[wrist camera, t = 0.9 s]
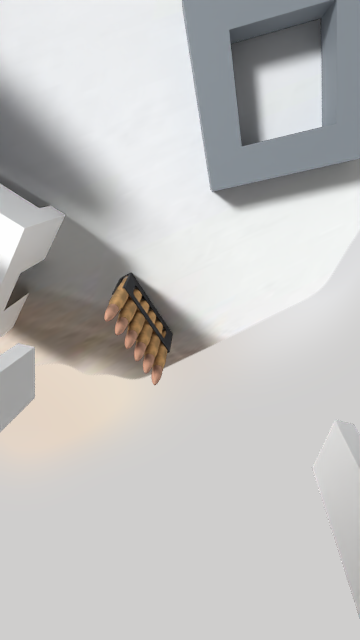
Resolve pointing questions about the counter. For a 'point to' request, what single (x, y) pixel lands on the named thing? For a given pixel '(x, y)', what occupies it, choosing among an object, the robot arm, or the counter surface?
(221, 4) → the slate socket block
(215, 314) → the counter surface
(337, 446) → the robot arm
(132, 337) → the ammunition clip
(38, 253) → the paper towel holder
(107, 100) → the counter surface
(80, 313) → the counter surface
